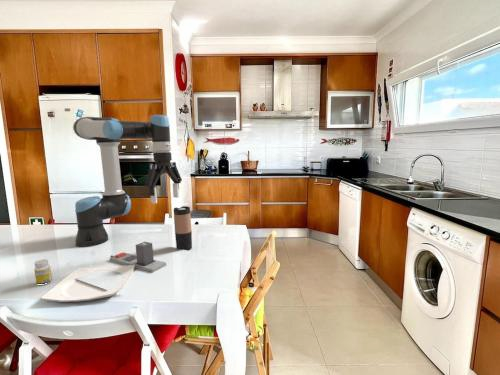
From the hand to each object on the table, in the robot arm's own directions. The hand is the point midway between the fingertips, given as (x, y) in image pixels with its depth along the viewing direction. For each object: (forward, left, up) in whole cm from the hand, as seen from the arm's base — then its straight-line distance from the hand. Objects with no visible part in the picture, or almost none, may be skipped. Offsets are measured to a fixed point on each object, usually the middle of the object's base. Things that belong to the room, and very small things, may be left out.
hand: (165, 200), depth 125 cm
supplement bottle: (-22, -41, -25) cm, 53 cm away
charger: (+2, -15, -24) cm, 28 cm away
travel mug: (+2, +8, -25) cm, 27 cm away
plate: (-3, -34, -26) cm, 43 cm away
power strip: (-5, -15, -25) cm, 30 cm away
